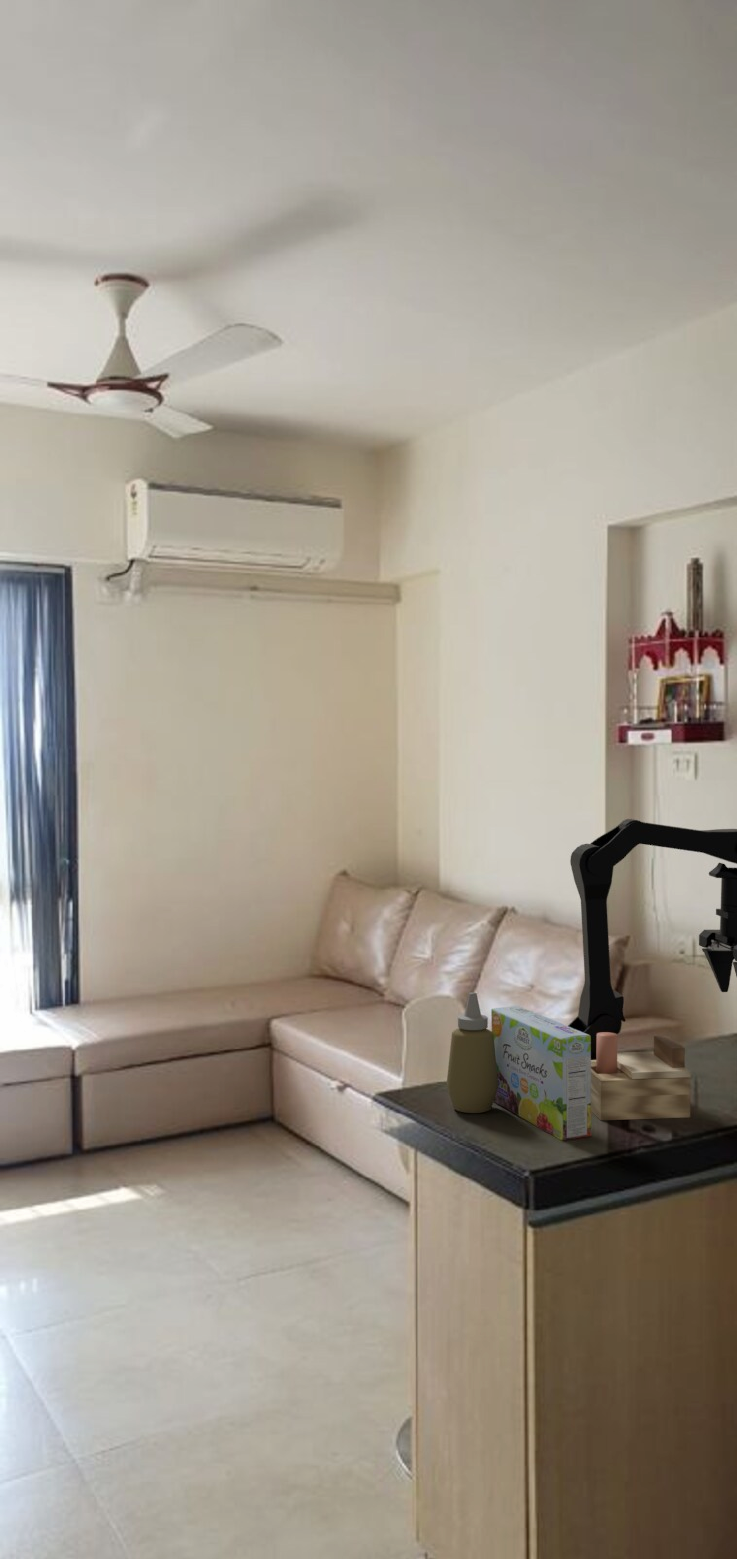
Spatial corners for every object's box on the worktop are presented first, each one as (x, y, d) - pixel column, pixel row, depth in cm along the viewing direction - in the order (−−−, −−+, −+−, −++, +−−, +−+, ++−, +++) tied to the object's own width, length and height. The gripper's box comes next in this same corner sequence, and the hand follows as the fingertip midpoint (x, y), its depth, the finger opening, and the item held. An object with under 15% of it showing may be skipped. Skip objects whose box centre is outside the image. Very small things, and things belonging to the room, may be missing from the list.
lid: (662, 1057, 203) (662, 1032, 202) (690, 1077, 191) (690, 1051, 191) (607, 1058, 202) (607, 1034, 201) (632, 1079, 190) (632, 1052, 189)
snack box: (488, 1102, 199) (489, 1007, 198) (519, 1098, 201) (520, 1004, 200) (560, 1142, 179) (561, 1036, 179) (593, 1137, 181) (594, 1033, 181)
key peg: (599, 1088, 194) (600, 1037, 193) (593, 1083, 197) (593, 1032, 197) (619, 1088, 194) (620, 1036, 194) (613, 1082, 197) (613, 1031, 197)
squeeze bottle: (452, 1117, 190) (453, 999, 190) (441, 1102, 198) (441, 988, 198) (504, 1115, 192) (505, 997, 191) (491, 1100, 200) (491, 987, 199)
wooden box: (662, 1094, 203) (662, 1057, 203) (690, 1117, 191) (690, 1077, 191) (577, 1097, 201) (578, 1060, 201) (600, 1120, 189) (601, 1080, 189)
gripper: (810, 912, 202) (807, 1009, 203) (759, 897, 221) (757, 986, 221) (744, 912, 201) (741, 1009, 201) (698, 897, 219) (696, 986, 220)
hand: (735, 997), depth 211 cm, fingers open, 9 cm apart
